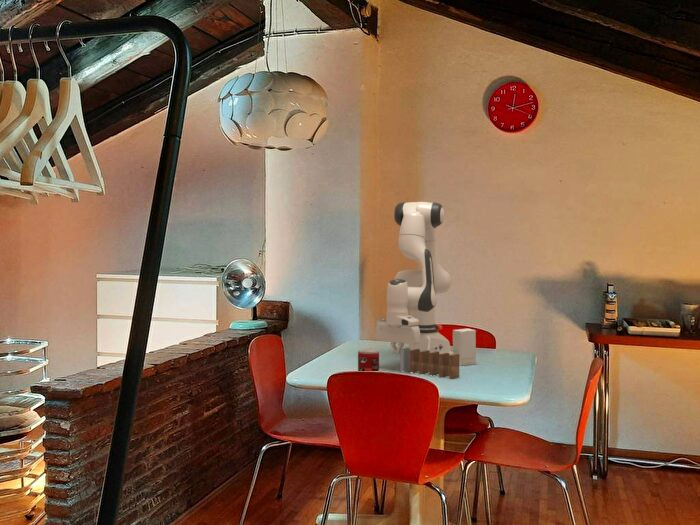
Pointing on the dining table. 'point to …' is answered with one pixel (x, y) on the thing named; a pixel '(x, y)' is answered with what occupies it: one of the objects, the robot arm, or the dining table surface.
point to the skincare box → (465, 345)
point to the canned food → (368, 360)
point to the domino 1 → (405, 359)
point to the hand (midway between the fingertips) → (397, 353)
